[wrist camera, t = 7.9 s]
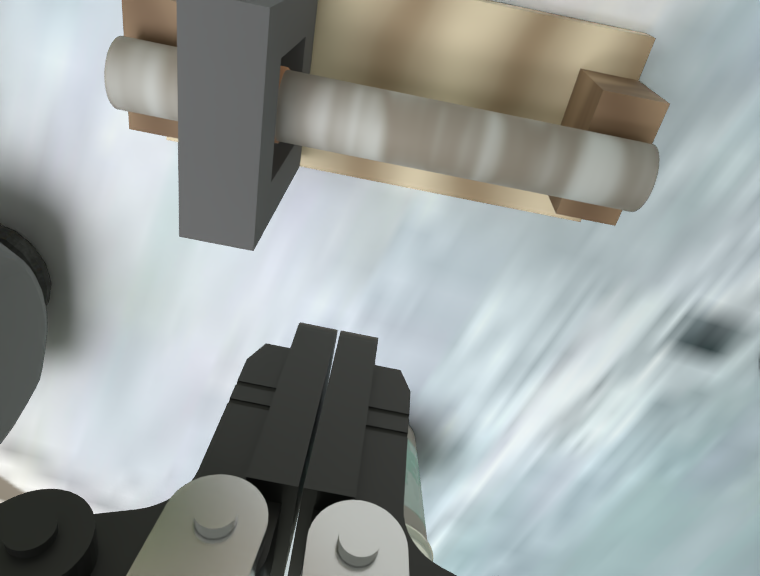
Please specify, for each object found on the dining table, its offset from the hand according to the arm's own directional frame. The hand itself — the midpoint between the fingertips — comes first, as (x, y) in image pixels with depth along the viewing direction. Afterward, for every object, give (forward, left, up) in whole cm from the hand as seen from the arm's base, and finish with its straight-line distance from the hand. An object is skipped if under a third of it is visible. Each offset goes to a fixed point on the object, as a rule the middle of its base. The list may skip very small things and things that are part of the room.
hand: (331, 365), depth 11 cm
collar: (+6, 0, -21) cm, 22 cm away
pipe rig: (0, 0, -24) cm, 24 cm away
